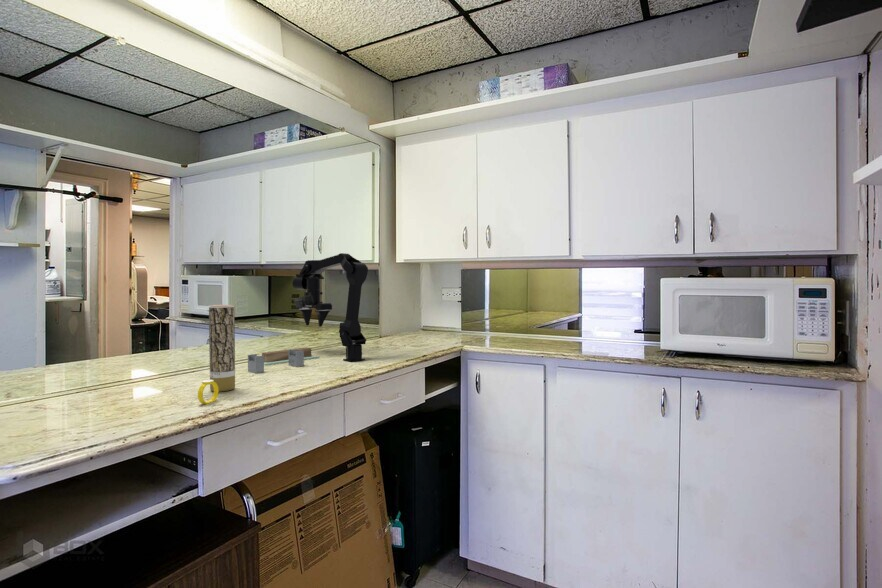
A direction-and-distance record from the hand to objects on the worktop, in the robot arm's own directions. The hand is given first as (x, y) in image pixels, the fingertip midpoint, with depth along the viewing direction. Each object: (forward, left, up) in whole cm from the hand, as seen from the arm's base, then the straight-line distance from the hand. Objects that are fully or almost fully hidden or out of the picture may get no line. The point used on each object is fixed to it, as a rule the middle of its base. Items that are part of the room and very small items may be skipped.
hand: (313, 326), depth 203 cm
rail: (-3, +14, -12) cm, 19 cm away
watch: (-47, +63, -13) cm, 80 cm away
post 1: (-16, +34, -13) cm, 40 cm away
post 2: (-16, +18, -13) cm, 28 cm away
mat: (-3, +14, -13) cm, 19 cm away
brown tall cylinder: (-35, +54, -13) cm, 66 cm away
